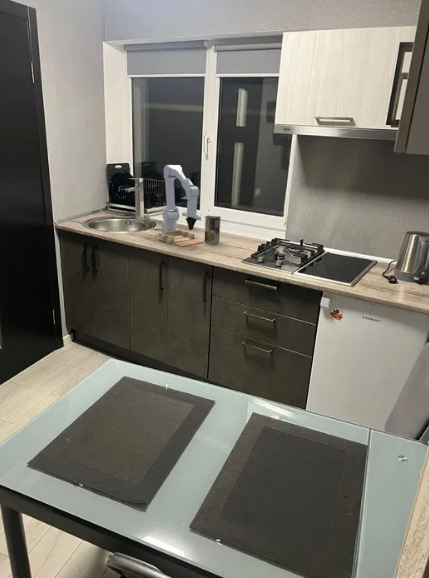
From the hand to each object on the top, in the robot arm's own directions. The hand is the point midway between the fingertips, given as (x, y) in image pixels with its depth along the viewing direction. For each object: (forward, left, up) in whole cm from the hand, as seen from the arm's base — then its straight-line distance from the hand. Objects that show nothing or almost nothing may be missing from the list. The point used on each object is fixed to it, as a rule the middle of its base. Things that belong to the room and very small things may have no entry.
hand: (190, 229), depth 260 cm
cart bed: (-9, -3, -9) cm, 13 cm away
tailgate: (-2, -3, -8) cm, 9 cm away
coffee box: (+6, +13, -9) cm, 17 cm away
